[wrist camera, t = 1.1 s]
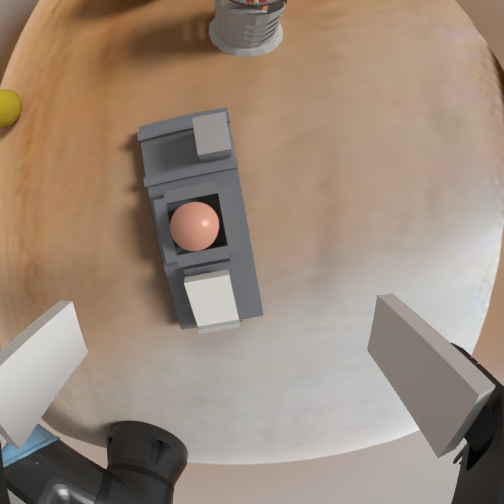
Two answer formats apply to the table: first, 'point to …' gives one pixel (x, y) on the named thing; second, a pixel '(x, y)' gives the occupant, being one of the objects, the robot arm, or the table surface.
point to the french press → (247, 26)
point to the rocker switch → (212, 301)
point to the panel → (198, 190)
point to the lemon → (9, 107)
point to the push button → (194, 226)
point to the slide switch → (212, 137)
